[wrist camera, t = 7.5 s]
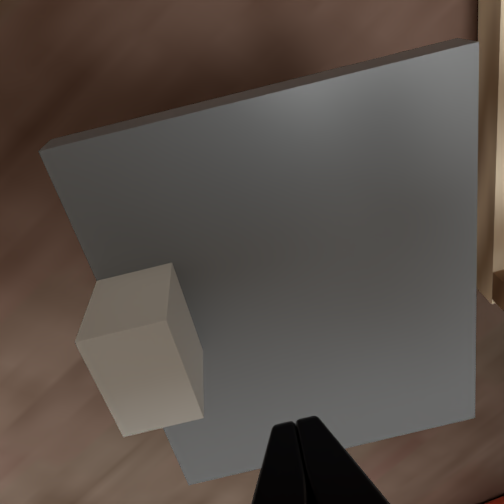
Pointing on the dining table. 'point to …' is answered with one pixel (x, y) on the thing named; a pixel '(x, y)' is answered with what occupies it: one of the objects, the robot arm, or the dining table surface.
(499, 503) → the cracker box
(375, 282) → the sliding cover
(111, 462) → the dining table surface
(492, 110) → the puzzle board
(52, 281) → the dining table surface
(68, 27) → the dining table surface
